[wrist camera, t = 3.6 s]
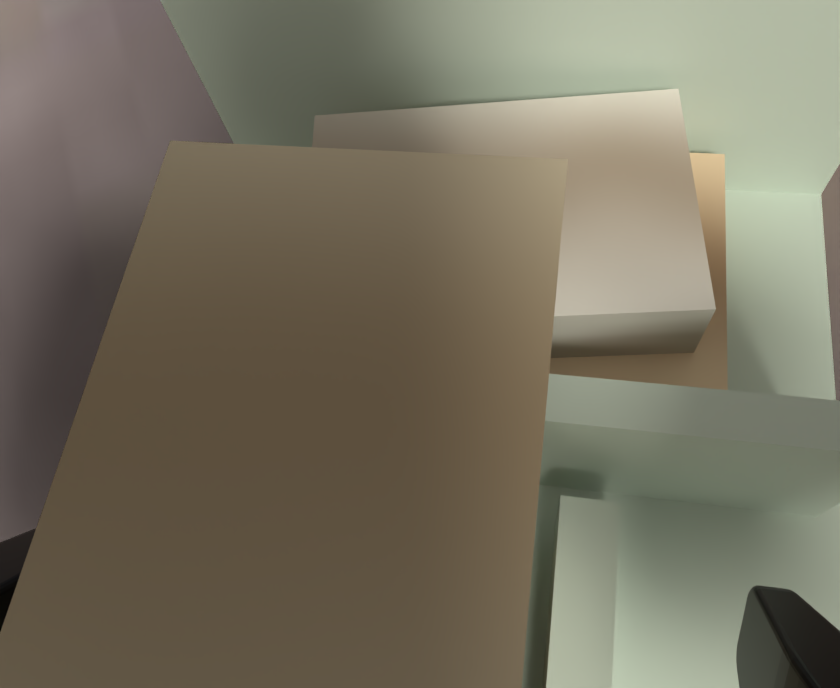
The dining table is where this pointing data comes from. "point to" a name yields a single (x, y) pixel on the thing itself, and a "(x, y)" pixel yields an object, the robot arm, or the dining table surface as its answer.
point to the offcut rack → (606, 398)
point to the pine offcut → (712, 349)
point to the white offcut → (586, 206)
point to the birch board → (306, 431)
